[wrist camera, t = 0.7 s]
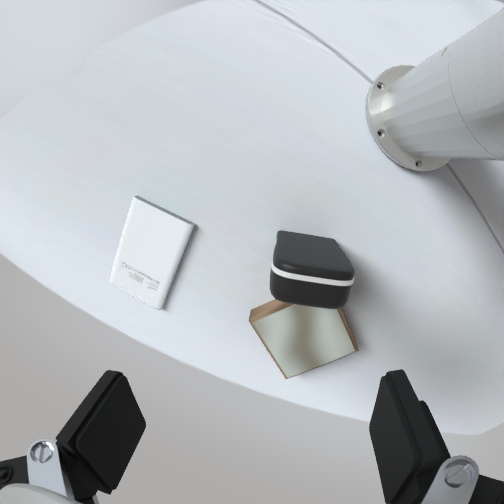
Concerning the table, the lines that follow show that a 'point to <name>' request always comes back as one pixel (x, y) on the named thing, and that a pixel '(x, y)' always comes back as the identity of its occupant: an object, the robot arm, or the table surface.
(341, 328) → the plinth
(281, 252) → the battery charger
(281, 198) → the table surface
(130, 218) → the external hard drive
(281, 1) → the table surface
